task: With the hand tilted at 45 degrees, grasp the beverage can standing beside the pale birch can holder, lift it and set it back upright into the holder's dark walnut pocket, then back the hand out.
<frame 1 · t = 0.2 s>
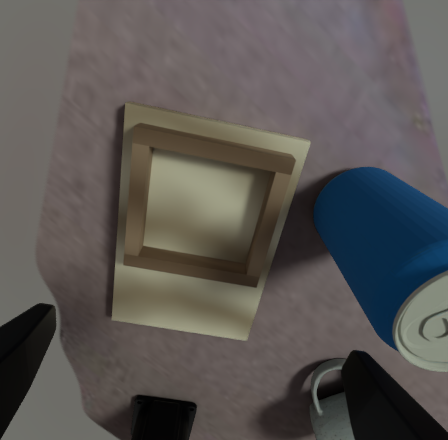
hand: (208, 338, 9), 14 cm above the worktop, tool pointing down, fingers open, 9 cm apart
can holder: (204, 202, 23), on the worktop
ceramic mug: (343, 388, 32), on the worktop
beverage can: (353, 204, 23), on the worktop
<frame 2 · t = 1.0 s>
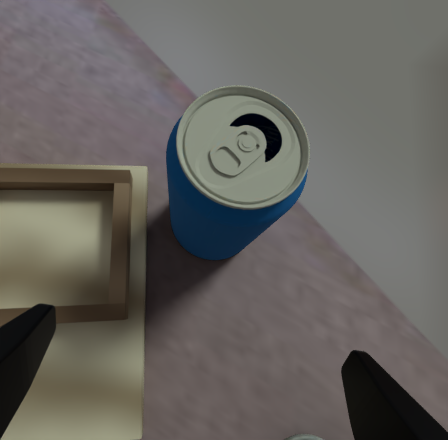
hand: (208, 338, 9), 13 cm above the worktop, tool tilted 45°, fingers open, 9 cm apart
can holder: (59, 248, 22), on the worktop
beverage can: (212, 220, 24), on the worktop
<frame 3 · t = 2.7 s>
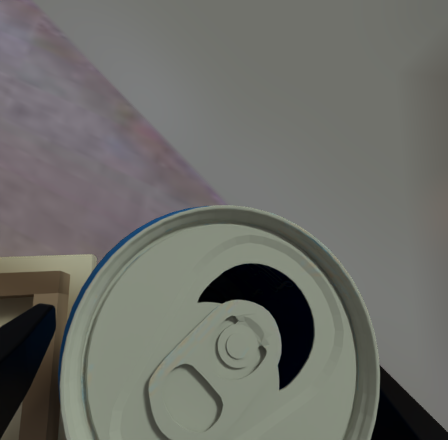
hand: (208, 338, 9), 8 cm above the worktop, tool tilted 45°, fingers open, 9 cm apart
beverage can: (190, 327, 17), on the worktop
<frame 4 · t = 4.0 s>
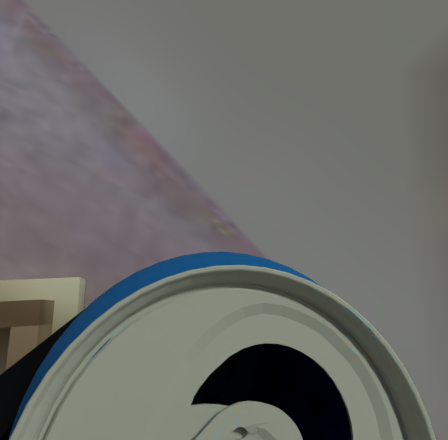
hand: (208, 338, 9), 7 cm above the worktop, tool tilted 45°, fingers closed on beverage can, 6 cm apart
beverage can: (188, 356, 15), on the worktop, touching gripper
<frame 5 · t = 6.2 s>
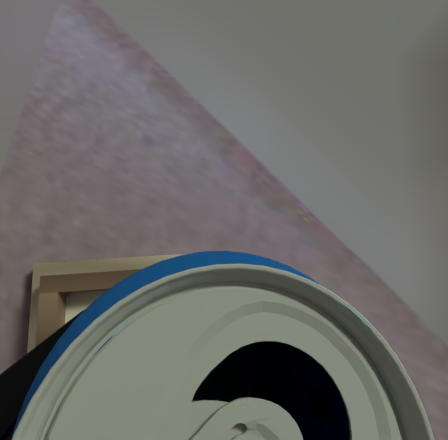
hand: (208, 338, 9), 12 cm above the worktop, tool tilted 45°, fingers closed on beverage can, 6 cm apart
can holder: (135, 352, 20), on the worktop
beverage can: (189, 355, 15), point 5 cm above the worktop, touching gripper
when the fingers open (8 cm above the worktop, at t = 8.3 s): beverage can stays where it is, resting on can holder.
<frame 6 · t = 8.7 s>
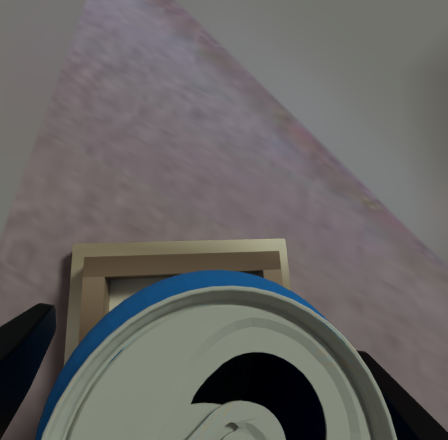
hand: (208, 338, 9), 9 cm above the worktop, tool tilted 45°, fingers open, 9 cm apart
can holder: (187, 351, 17), on the worktop
beverage can: (188, 357, 16), point 1 cm above the worktop, touching can holder
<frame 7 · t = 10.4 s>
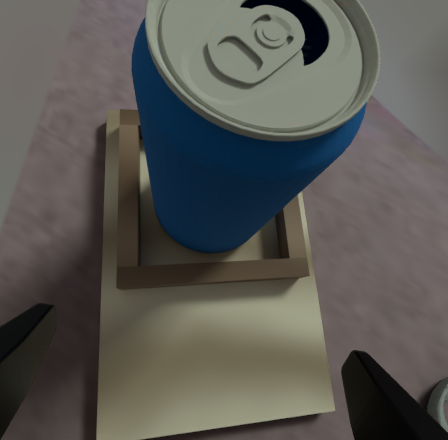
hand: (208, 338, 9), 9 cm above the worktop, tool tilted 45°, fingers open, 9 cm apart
can holder: (207, 204, 19), on the worktop
beverage can: (208, 203, 19), point 1 cm above the worktop, touching can holder
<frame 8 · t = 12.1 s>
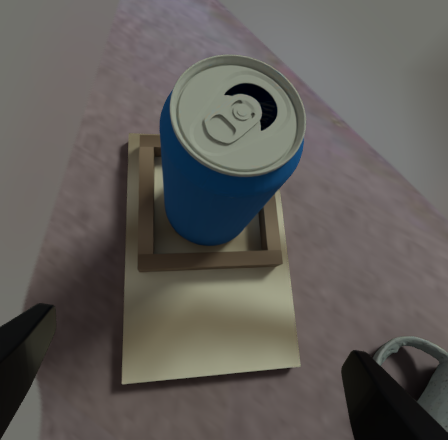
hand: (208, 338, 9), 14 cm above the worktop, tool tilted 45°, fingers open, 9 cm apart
can holder: (206, 208, 25), on the worktop
ceramic mug: (421, 404, 23), on the worktop
beverage can: (207, 207, 24), point 1 cm above the worktop, touching can holder
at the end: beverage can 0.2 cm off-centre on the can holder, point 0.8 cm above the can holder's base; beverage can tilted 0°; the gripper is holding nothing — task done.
